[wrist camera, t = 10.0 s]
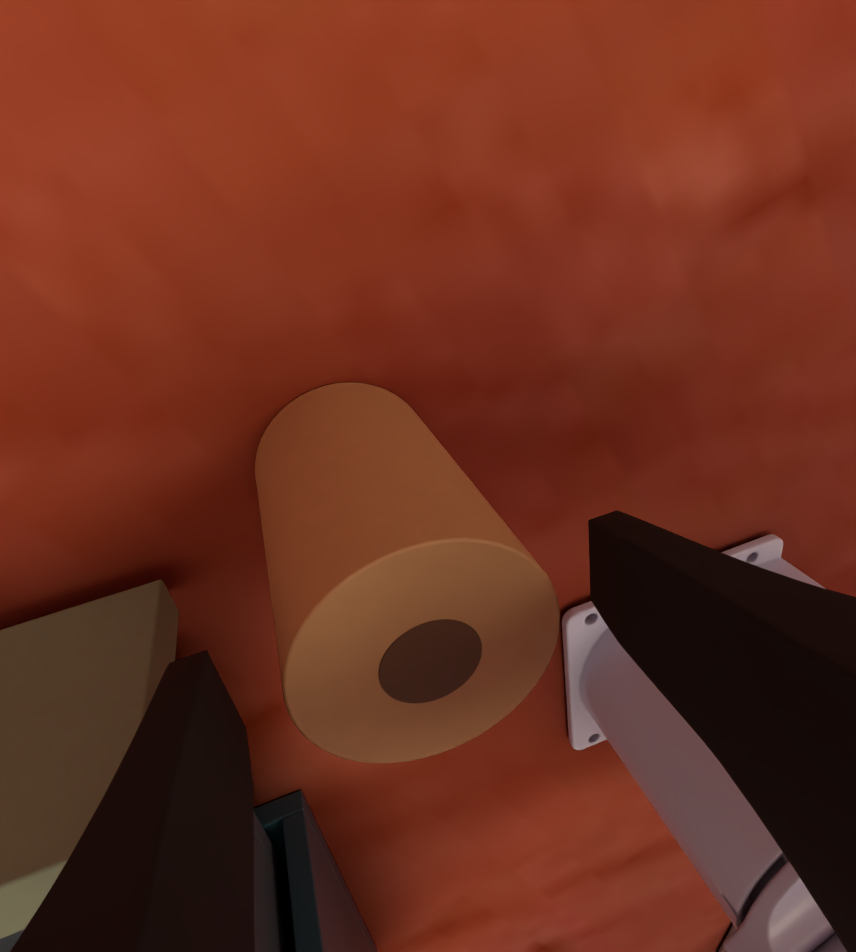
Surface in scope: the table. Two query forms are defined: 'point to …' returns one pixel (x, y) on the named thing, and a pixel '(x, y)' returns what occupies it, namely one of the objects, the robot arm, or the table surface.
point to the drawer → (86, 743)
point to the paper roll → (392, 582)
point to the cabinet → (311, 882)
